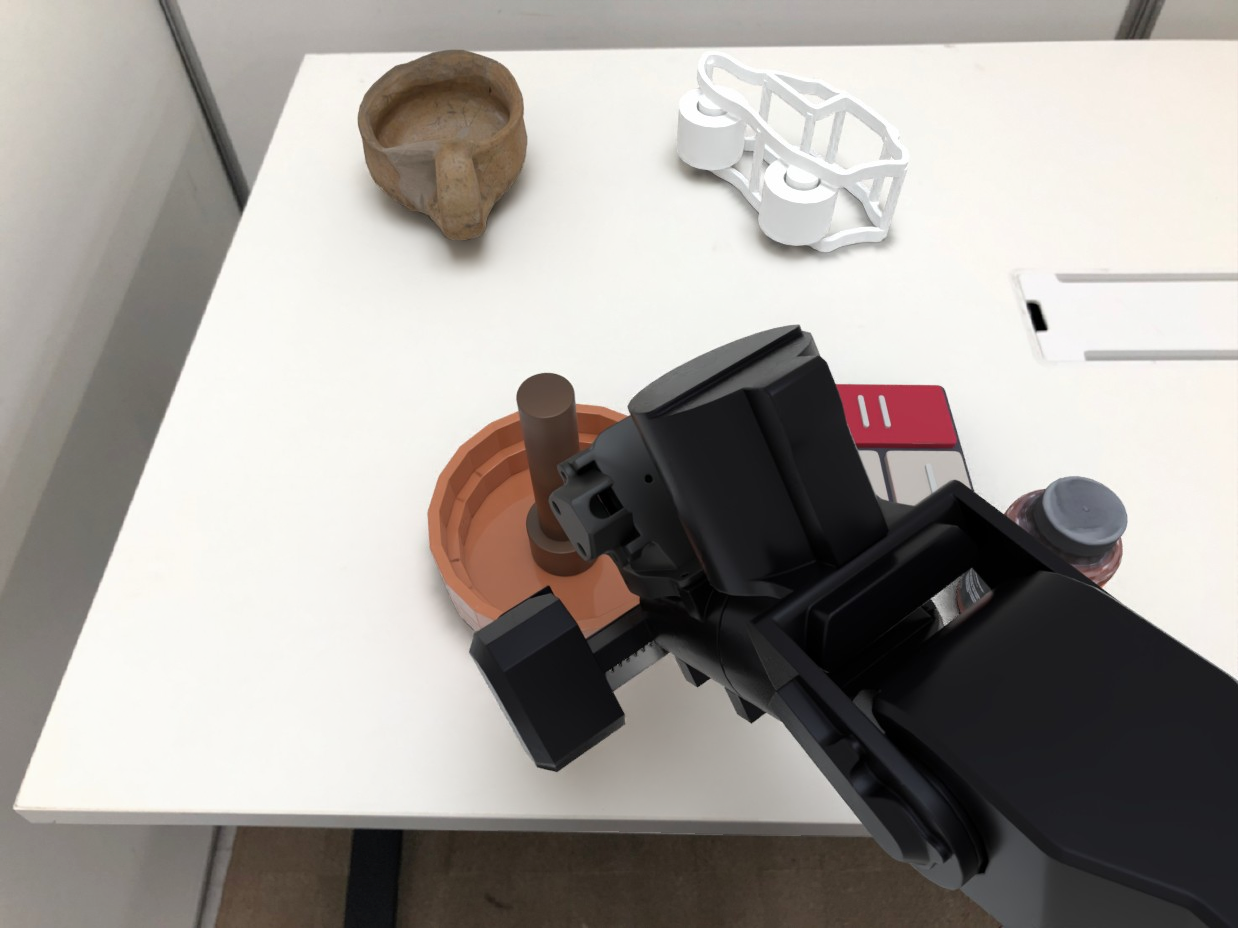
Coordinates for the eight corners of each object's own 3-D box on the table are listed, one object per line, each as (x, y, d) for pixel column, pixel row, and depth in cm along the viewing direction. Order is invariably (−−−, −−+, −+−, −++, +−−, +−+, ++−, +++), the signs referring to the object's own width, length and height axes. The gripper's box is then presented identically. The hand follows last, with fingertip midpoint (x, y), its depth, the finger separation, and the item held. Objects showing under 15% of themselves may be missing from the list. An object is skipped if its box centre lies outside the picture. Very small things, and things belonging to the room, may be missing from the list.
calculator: (991, 522, 50) (736, 521, 50) (964, 556, 54) (726, 555, 53) (948, 376, 57) (720, 374, 56) (926, 416, 60) (712, 414, 60)
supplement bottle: (1078, 633, 50) (1179, 539, 41) (992, 669, 49) (1076, 582, 40) (1016, 549, 54) (1097, 444, 44) (933, 582, 52) (998, 481, 43)
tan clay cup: (597, 214, 69) (557, 118, 61) (448, 304, 69) (387, 222, 61) (511, 95, 78) (466, -3, 69) (379, 176, 78) (317, 88, 69)
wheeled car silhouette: (652, 150, 76) (654, 72, 70) (751, 107, 79) (761, 29, 73) (800, 284, 67) (817, 208, 60) (905, 229, 70) (931, 151, 64)
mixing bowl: (715, 642, 50) (723, 607, 46) (452, 688, 49) (435, 655, 45) (663, 433, 59) (665, 387, 55) (437, 467, 58) (422, 422, 54)
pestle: (607, 570, 53) (598, 424, 40) (535, 582, 52) (503, 438, 40) (595, 509, 55) (583, 353, 42) (527, 520, 55) (494, 366, 42)
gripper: (902, 305, 31) (697, 332, 45) (446, 576, 25) (375, 509, 40) (997, 565, 34) (776, 513, 48) (606, 862, 28) (486, 703, 42)
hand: (616, 553), depth 45 cm, fingers open, 9 cm apart
